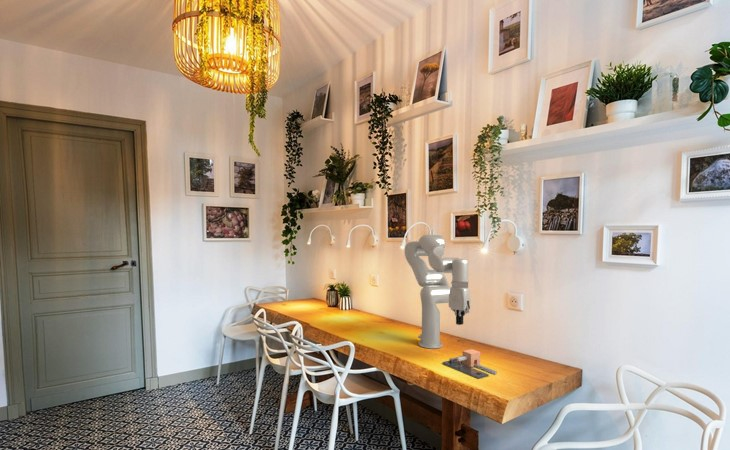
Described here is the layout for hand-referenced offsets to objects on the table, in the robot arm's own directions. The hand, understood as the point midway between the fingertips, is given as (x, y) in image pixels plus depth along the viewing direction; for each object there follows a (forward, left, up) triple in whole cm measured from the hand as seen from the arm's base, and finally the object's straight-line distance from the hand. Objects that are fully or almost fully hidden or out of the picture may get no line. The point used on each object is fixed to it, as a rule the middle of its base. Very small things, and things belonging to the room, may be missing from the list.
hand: (459, 324), depth 178 cm
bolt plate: (+10, -7, -17) cm, 21 cm away
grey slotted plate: (+10, -4, -17) cm, 20 cm away
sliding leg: (+7, -3, -17) cm, 18 cm away
